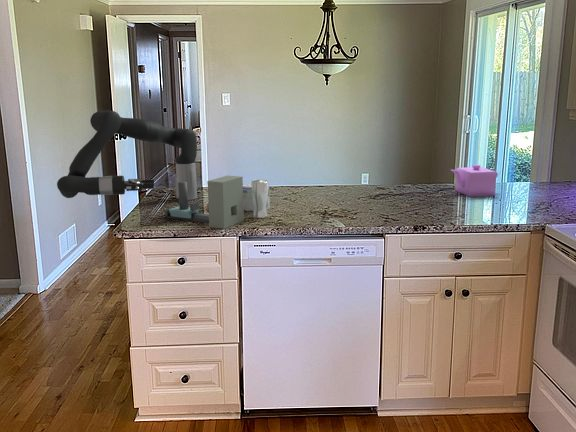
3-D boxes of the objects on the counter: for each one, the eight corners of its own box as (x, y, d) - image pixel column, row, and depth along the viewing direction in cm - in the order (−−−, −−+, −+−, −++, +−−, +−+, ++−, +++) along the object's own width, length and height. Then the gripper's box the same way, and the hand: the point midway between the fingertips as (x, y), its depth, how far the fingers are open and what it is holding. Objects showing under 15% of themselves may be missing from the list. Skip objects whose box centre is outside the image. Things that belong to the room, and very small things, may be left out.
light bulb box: (270, 208, 245) (269, 184, 243) (264, 212, 239) (264, 187, 237) (247, 207, 249) (247, 183, 246) (241, 210, 243) (241, 186, 240)
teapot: (441, 191, 280) (443, 163, 277) (488, 189, 284) (490, 162, 280) (455, 197, 266) (457, 168, 262) (504, 195, 269) (506, 166, 266)
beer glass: (251, 214, 235) (250, 179, 231) (268, 214, 235) (267, 179, 232) (252, 218, 228) (251, 182, 225) (269, 218, 229) (268, 182, 225)
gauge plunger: (206, 213, 222) (205, 204, 221) (212, 211, 225) (211, 202, 224) (226, 216, 218) (226, 206, 217) (232, 214, 221) (232, 204, 220)
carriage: (169, 216, 229) (167, 183, 226) (180, 212, 235) (178, 180, 232) (190, 219, 224) (189, 185, 221) (201, 215, 230) (199, 182, 227)
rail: (165, 217, 232) (164, 210, 231) (173, 214, 236) (172, 207, 235) (214, 223, 220) (214, 216, 220) (222, 221, 225) (221, 213, 224)
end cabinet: (208, 226, 217) (206, 180, 212) (228, 218, 229) (226, 175, 224) (224, 228, 213) (222, 182, 209) (243, 220, 225) (242, 176, 221)
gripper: (109, 178, 213) (153, 177, 217) (112, 173, 227) (153, 172, 230) (111, 198, 215) (154, 196, 218) (114, 191, 228) (154, 189, 232)
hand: (153, 183), depth 224 cm, fingers open, 8 cm apart
